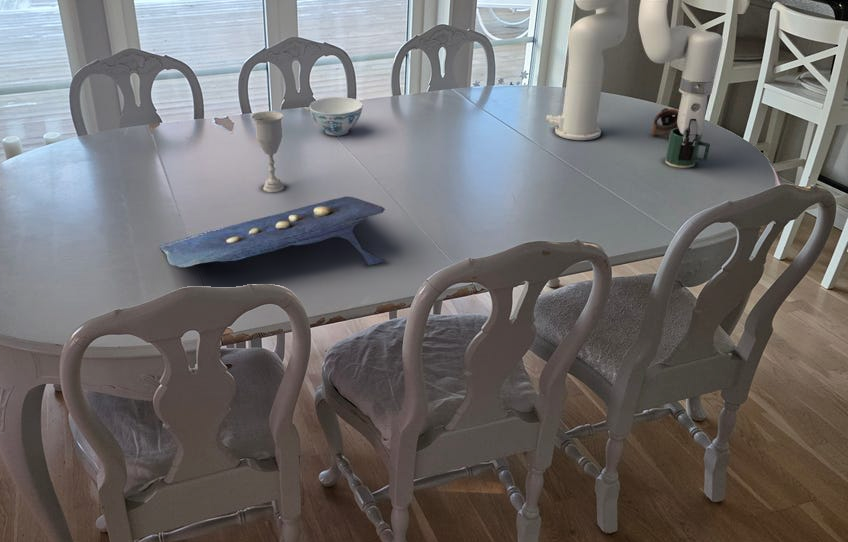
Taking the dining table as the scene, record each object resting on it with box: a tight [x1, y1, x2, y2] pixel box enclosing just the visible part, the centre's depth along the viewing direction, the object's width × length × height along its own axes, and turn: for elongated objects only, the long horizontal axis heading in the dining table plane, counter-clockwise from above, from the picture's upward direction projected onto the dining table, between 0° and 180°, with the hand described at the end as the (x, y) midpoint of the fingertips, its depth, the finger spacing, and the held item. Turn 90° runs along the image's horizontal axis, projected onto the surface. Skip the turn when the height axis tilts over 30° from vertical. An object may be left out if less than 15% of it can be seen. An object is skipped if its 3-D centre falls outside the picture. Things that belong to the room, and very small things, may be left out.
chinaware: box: [309, 96, 364, 137], centre depth 223 cm, size 15×15×8 cm
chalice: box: [251, 110, 285, 193], centre depth 187 cm, size 7×7×18 cm
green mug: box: [664, 128, 711, 169], centre depth 198 cm, size 10×7×8 cm
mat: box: [158, 195, 386, 268], centre depth 163 cm, size 45×27×12 cm, turn 114°
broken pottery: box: [651, 107, 679, 137], centre depth 218 cm, size 12×10×8 cm
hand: (682, 153), depth 200 cm, fingers open, 8 cm apart
